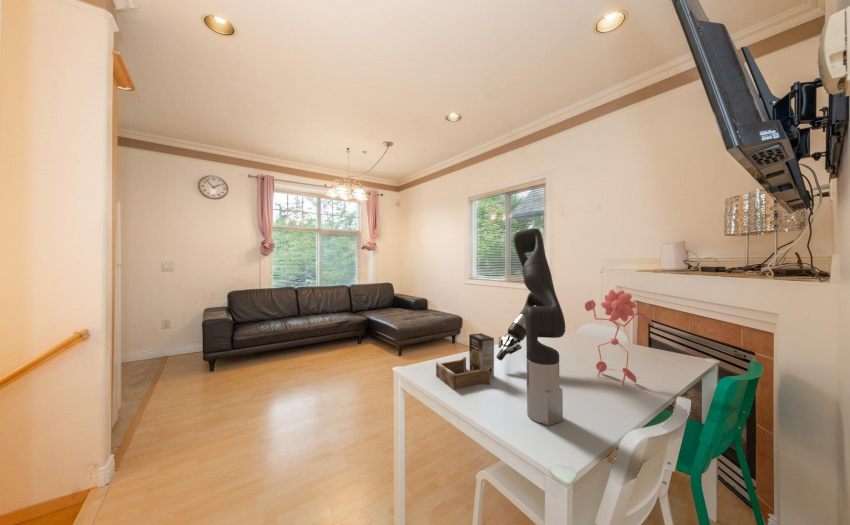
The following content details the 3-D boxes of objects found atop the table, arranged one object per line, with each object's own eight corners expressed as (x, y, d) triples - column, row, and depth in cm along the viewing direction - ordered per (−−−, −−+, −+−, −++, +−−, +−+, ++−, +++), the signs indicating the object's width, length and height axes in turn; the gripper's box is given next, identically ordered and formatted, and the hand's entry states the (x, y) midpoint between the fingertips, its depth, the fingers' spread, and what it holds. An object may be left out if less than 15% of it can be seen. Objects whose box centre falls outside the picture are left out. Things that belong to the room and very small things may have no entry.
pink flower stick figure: (647, 394, 102) (647, 293, 102) (577, 371, 124) (577, 288, 125) (667, 385, 110) (667, 291, 110) (597, 365, 132) (597, 287, 132)
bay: (491, 384, 113) (490, 369, 113) (456, 392, 106) (456, 376, 106) (465, 368, 129) (465, 355, 129) (433, 374, 123) (433, 361, 123)
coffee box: (468, 372, 125) (468, 334, 125) (481, 369, 127) (481, 332, 127) (481, 380, 116) (481, 339, 116) (494, 377, 119) (494, 337, 119)
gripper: (505, 319, 135) (484, 349, 131) (526, 324, 123) (503, 358, 119) (514, 329, 138) (493, 359, 133) (536, 335, 126) (514, 369, 121)
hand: (498, 359), depth 126 cm, fingers closed
